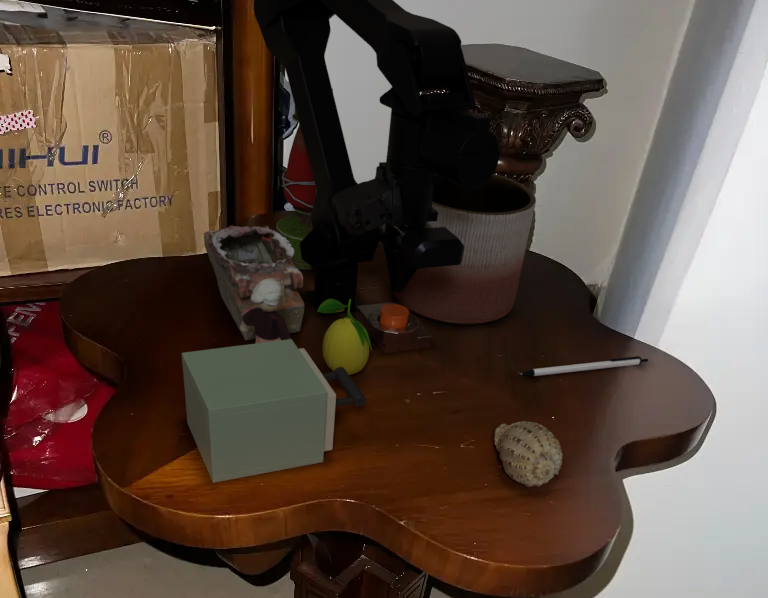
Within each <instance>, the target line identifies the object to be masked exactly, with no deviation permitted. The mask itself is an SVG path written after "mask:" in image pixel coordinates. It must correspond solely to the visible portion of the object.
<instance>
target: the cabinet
mask: <svg viewBox="0 0 768 598" xmlns="http://www.w3.org/2000/svg"><path fill="white" fill-rule="evenodd" d="M299 349H300V348H298V346H297V345H296V343H295V342H294V340H293V339H292V338H291V339H289V340H281V341H273V342H265V343H257V344H255V343H249V344H241V345H233V346H225V347H218V348H217V347H216V348H210V349H202V350H195V351H194V350H193V351H186V352H181V364H182V373H183V374H182V375H183V386H184V398H185V410H186V421H187V425H188V428H189V431H190V433H191V435H192V437H193V439H194V442H195V444H196V447H197V449H198V451H199V454H200V456H201V458H202V460H203V463H204V465H205V468H206V470H207V472H208V474H209V477H210V479H211V482H212V483H213V484H214V483H221V482H225V481H231V480H236V479H241V478H247V477H251V476H257V475H262V474H267V473H273V472H278V471H283V470H289V469H295V468H300V467H304V466H310V465H315V464H319V463H320V464H321V463H323V462H324V458H325V457H324V455H325V451H324V441H325V424H326V407H327V391H326V389H325V388H324V386H323V385H322V383H321V382H320V380H319V379H318V377H317V376H316V374H315V373H314V371H313V370H312V368H311V367H310V365H309V364H308V363H307V361H306V360H305V358H304V357H303V355H302V354H301V352H300V351H299Z"/></svg>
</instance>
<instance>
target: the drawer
mask: <svg viewBox="0 0 768 598" xmlns="http://www.w3.org/2000/svg"><path fill="white" fill-rule="evenodd" d="M298 349H299V351H300V352H301V354H302V355H303V357H304V358H305V360H306V361H307V363H308V364H309V365H310V367H311V368H312V370H313V371H314V373H315V374H316V376H317V377H318V379H319V380H320V382H321V383H322V385H323V386H324V388H325V389H326V391H327V407H326V424H325V441H324V452H328V451H333V448H334V447H333V446H334V434H335V432H334V431H335V419H336V417H335V416H336V407H344V406H350V405H353V406H355V407H356V408H361V407H364V406H365V405H366V404H367V397H366V396H365V394H364V393H363V392H362V390H361V389H360V387H359V386H358V385H357V383H356V382H355V381H354V379H353V378H352V377H351V375H349V374H348V373H347V371H346V370H345V369H344V368H343V367H338V368H336V369H335V370H334V371H331V372H324V373H322V372H321V370H320V369H319V367H317V366H318V365H316V363H315V362H314V360H313V359H312V358H311V356H310V354H309V353H308V351H307V350H306V349H305V347H303V348H298ZM332 380H336V381H337V382H338V384H339V386H340V387H341V388H342V390H343V391H344V393H345V394H346V395H347V397H346V396H345V397H340V398H337V393H336V392H335V391H334V389H333V388H332V386H331V385H330V384H329V382H328V381H332Z"/></svg>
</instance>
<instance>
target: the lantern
mask: <svg viewBox="0 0 768 598" xmlns="http://www.w3.org/2000/svg"><path fill="white" fill-rule="evenodd" d="M332 91H333V92H334V88H332ZM291 119H292V121H294V122H295V123H298V126H297V129H296V132H295V134H294V137H293V140H292V144H291V148H290V152H289V156H288V160H287V166H286V169H285V170H284V172H283V173H282V176H281V178H282V183H283V184H282V185H281V187H282V188H283V195H284V199H285V200H286V201H287V202H288V204H290V205H291V206H292V209H293V210H294V211H295V212H294V213H290V214H289V215H286V216H284V217H282V218H281V219H279V220H278V221H277V222H276V232H277V233H279V234H280V235H282V236H283V237H284V238H285V237H286V238H285V239H286V240H288V241H289V242H287V243H288V244H291V245H292V246H291V247H292V248H293V249H294V254H293V256H292V262H293V264H294V266H295V268H297V269H299V270H309V271H311V270H313V271H315V268H314V267H312V266H311V265H309V264H308V263H306V262H305V261H304V260H302V257H301V251H300V242H301V241H302V240H303V239H304V238H305V237H306V236H307V235H308V234H309V233H310V232H311V231H312V230H313V226H312V220H311V212H312V208H313V204H314V200H315V197H316V193H317V190H316V185H315V181H314V177H313V173H312V170H311V166H310V162H309V158H308V154H307V150H306V146H305V142H304V139H303V135H302V131H301V127H300V123H299V119H298V115H297V111H296V108H295V107H294V113H293V114H292V115H291Z"/></svg>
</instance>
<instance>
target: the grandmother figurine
mask: <svg viewBox="0 0 768 598" xmlns="http://www.w3.org/2000/svg"><path fill="white" fill-rule="evenodd" d="M281 291H282V288H281V286H280V283H279V282H278V281H276V280H275V279H273V278H270V279H264V280H262V281H261V282H259V283H258V284H257V285H256V287H255V288H254V290H253V293H252V294H251V300H252V302H254V303H258V305H259V307H260V308H253V309H251V310H249V311H248V312H247V313H245V314H244V315H243V316H242V324H241V325H240V330H241V331H242V332H244V333H245V332H247V331H248V330H249V327H250V326H255V334H256V339H255V343H254V344H257V343H265V342H273V341H281V340H289V339H292V336H291V333H289V330H288V328H287V326H286V322H285V320H284V318H283V317H282V316H281V315H279V314H278V313H277V312H276V311H275V310H276V309H278V307H279V306H280V303H281V298H280V295H282V294H281ZM240 330H239V331H240Z"/></svg>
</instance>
